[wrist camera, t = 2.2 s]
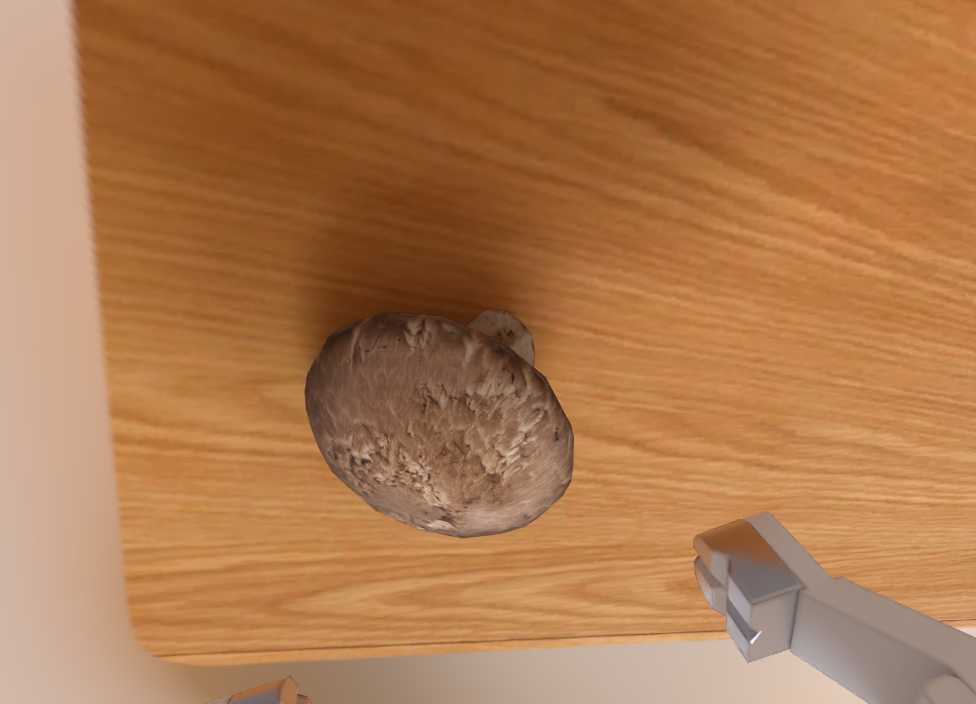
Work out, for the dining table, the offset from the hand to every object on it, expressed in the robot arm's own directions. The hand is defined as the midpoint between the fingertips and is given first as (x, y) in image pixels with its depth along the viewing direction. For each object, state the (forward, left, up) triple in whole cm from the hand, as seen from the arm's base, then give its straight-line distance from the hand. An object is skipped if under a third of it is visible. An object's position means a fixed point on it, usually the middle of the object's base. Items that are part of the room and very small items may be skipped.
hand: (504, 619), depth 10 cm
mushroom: (0, 0, -9) cm, 9 cm away
